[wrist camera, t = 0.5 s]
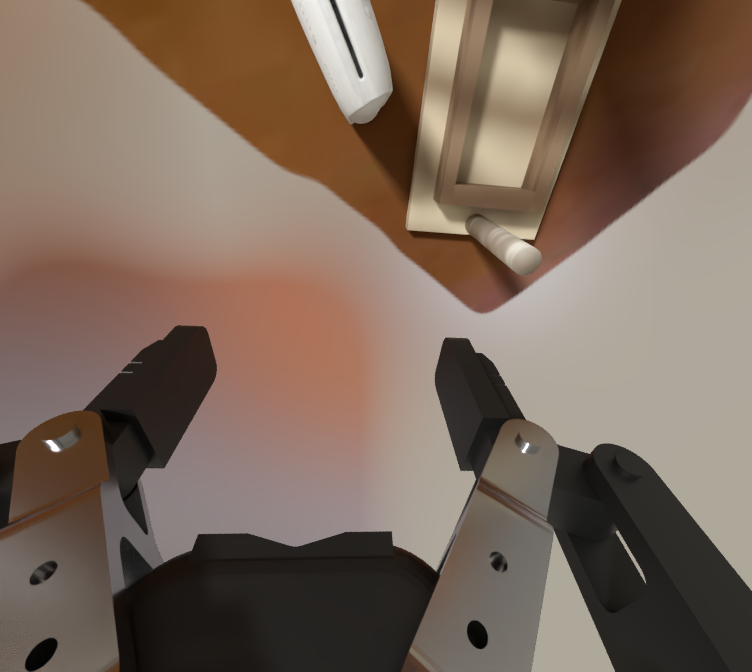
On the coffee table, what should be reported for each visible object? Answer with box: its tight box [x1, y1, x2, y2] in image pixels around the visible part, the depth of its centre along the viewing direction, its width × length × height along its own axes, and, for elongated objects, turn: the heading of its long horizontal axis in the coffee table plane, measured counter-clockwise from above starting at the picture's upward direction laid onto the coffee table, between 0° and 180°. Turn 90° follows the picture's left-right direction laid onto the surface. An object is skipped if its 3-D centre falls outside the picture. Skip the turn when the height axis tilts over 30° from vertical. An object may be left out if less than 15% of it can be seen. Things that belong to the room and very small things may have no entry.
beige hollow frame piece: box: [406, 0, 622, 275], centre depth 23 cm, size 24×15×14 cm, turn 175°
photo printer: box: [291, 0, 393, 125], centre depth 22 cm, size 10×4×12 cm, turn 25°
